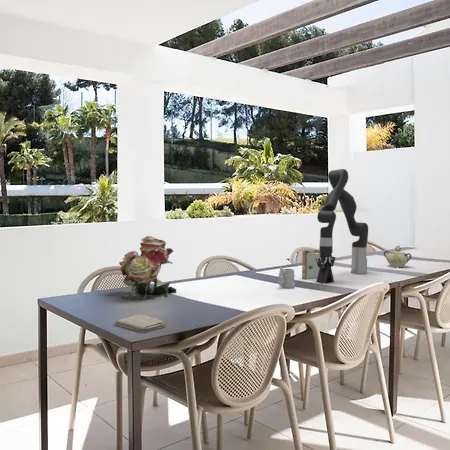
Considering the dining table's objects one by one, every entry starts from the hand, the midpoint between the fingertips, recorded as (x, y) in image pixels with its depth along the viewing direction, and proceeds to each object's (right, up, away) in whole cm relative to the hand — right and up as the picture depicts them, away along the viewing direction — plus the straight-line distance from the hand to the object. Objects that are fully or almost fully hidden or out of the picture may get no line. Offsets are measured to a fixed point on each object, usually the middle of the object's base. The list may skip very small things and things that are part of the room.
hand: (325, 274), depth 291 cm
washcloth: (-92, -11, -99) cm, 135 cm away
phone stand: (0, -5, 0) cm, 5 cm away
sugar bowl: (+65, -1, +65) cm, 92 cm away
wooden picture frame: (-3, -4, +15) cm, 16 cm away
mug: (-25, -6, -17) cm, 31 cm away
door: (-3, -4, +14) cm, 15 cm away
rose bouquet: (-98, -7, -42) cm, 107 cm away
